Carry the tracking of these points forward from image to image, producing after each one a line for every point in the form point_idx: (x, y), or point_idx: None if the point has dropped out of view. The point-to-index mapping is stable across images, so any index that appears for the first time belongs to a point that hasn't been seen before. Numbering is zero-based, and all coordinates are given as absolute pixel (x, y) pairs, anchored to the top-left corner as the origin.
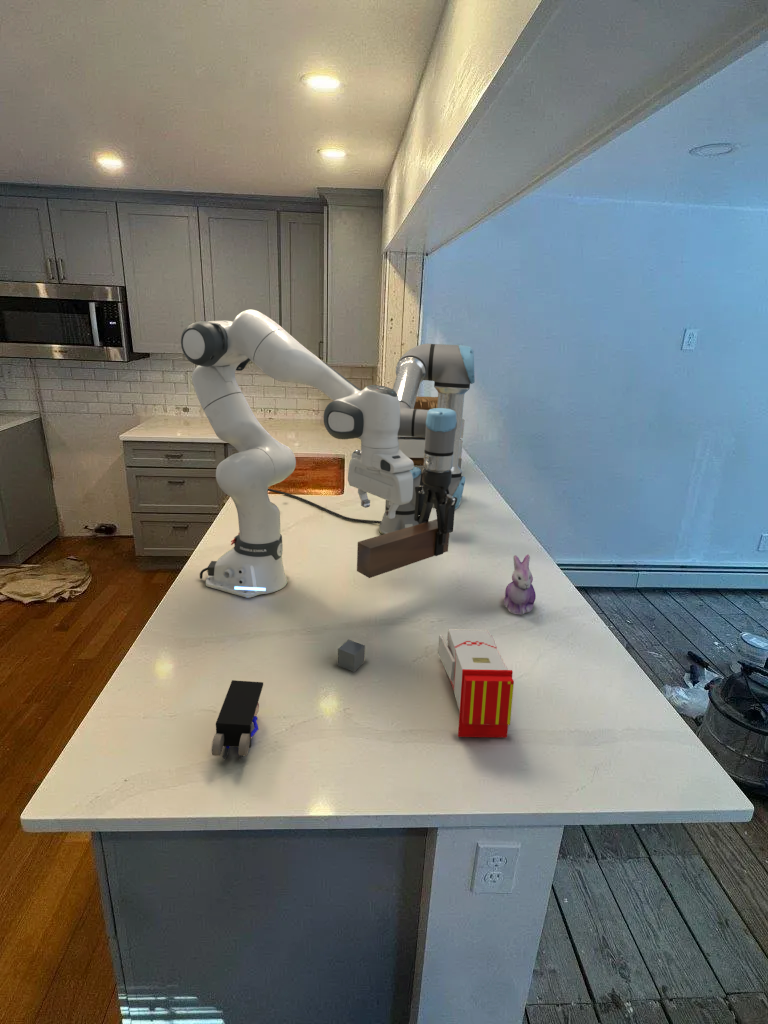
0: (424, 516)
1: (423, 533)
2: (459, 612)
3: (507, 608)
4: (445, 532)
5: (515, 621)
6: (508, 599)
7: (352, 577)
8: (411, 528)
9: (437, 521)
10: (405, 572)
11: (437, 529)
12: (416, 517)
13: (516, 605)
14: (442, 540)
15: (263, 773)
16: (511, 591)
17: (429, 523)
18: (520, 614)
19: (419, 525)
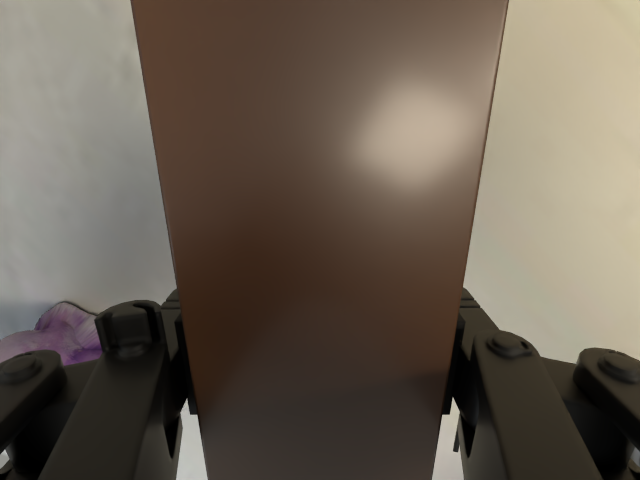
0: (498, 465)
1: (151, 85)
2: (144, 175)
3: (89, 314)
4: (15, 361)
5: (19, 277)
6: (64, 331)
7: (629, 12)
8: (421, 28)
9: (128, 468)
10: (485, 234)
11: (197, 367)
12: (631, 392)
13: (41, 329)
14: (161, 309)
15: None
16: (15, 350)
17: (381, 407)
18: (41, 316)
19: (423, 254)
